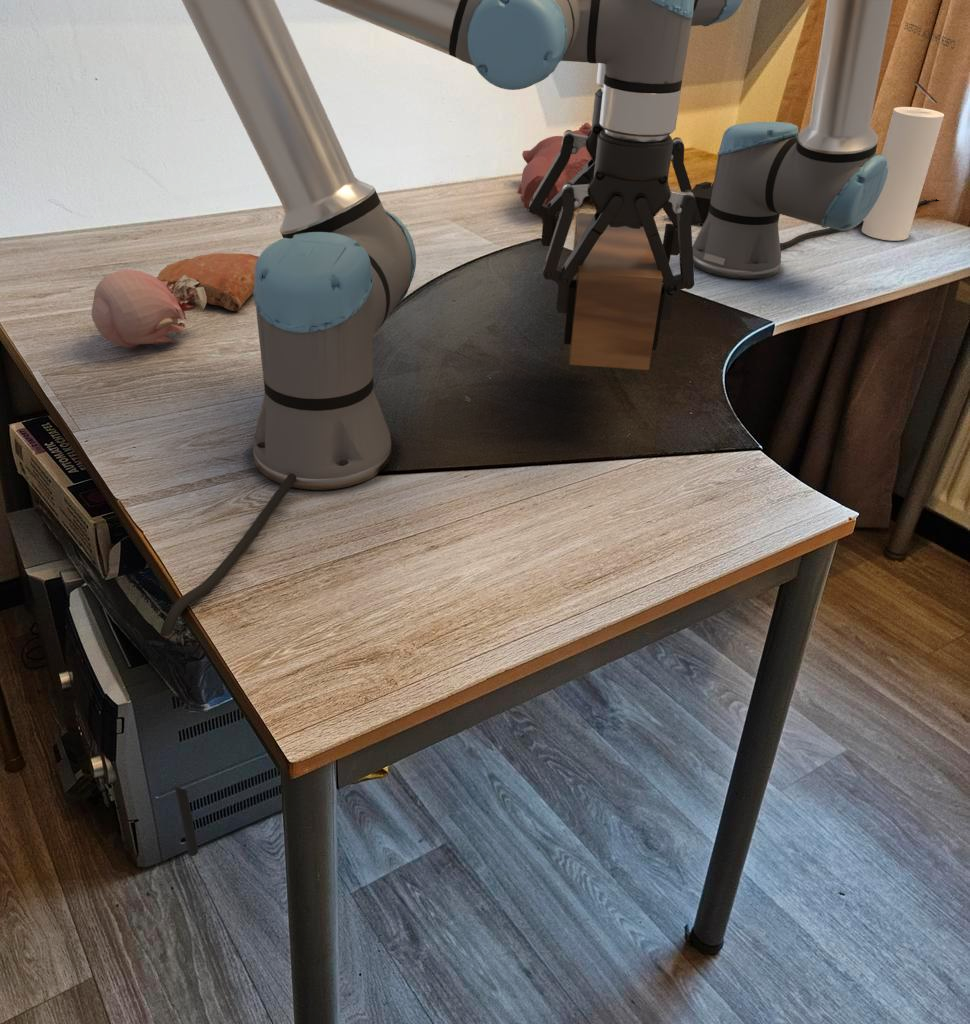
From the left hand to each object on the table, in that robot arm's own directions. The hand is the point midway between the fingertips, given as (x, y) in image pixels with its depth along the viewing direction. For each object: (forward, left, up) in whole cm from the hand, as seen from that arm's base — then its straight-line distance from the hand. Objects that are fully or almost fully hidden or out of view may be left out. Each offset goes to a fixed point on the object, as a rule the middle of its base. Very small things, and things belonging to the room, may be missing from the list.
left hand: (609, 342), depth 108 cm
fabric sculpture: (+89, +26, -12) cm, 94 cm away
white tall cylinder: (+99, -32, -12) cm, 105 cm away
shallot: (+1, +63, -12) cm, 64 cm away
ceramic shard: (+20, +65, -12) cm, 69 cm away
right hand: (+13, +4, +3) cm, 14 cm away
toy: (+102, +1, -12) cm, 103 cm away
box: (+7, +2, -2) cm, 7 cm away
